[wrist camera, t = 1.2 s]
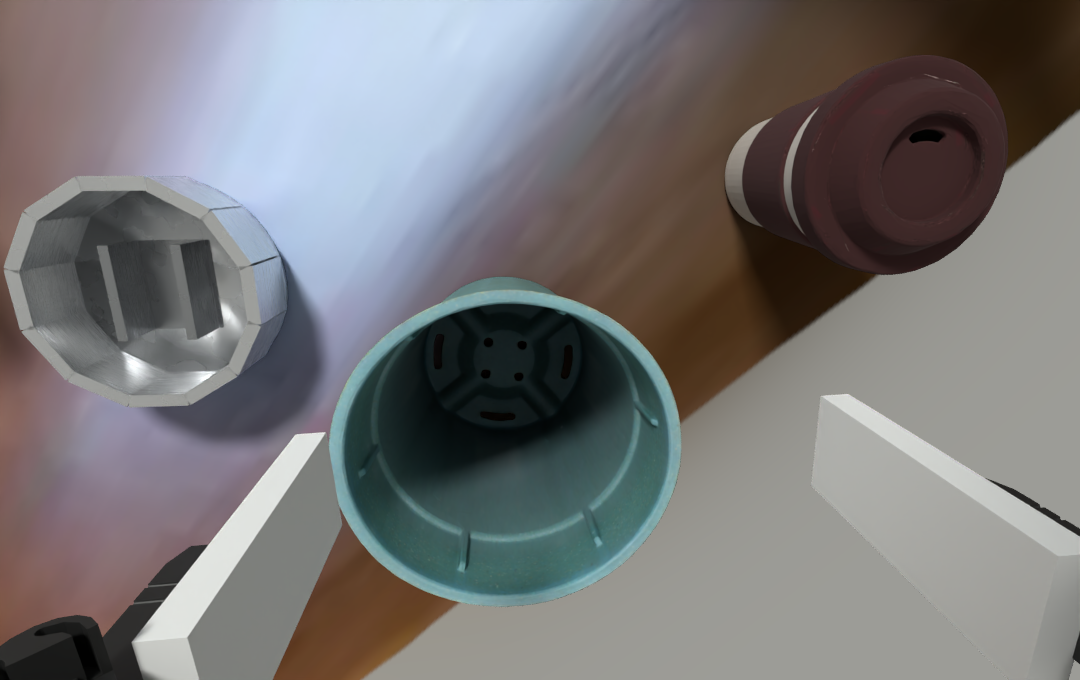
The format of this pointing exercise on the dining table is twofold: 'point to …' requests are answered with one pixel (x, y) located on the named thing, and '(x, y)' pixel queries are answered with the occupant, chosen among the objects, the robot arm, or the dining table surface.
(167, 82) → the dining table surface
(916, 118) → the coffee cup
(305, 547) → the robot arm
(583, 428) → the flower pot
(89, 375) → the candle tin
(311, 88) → the dining table surface
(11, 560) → the dining table surface
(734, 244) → the dining table surface
